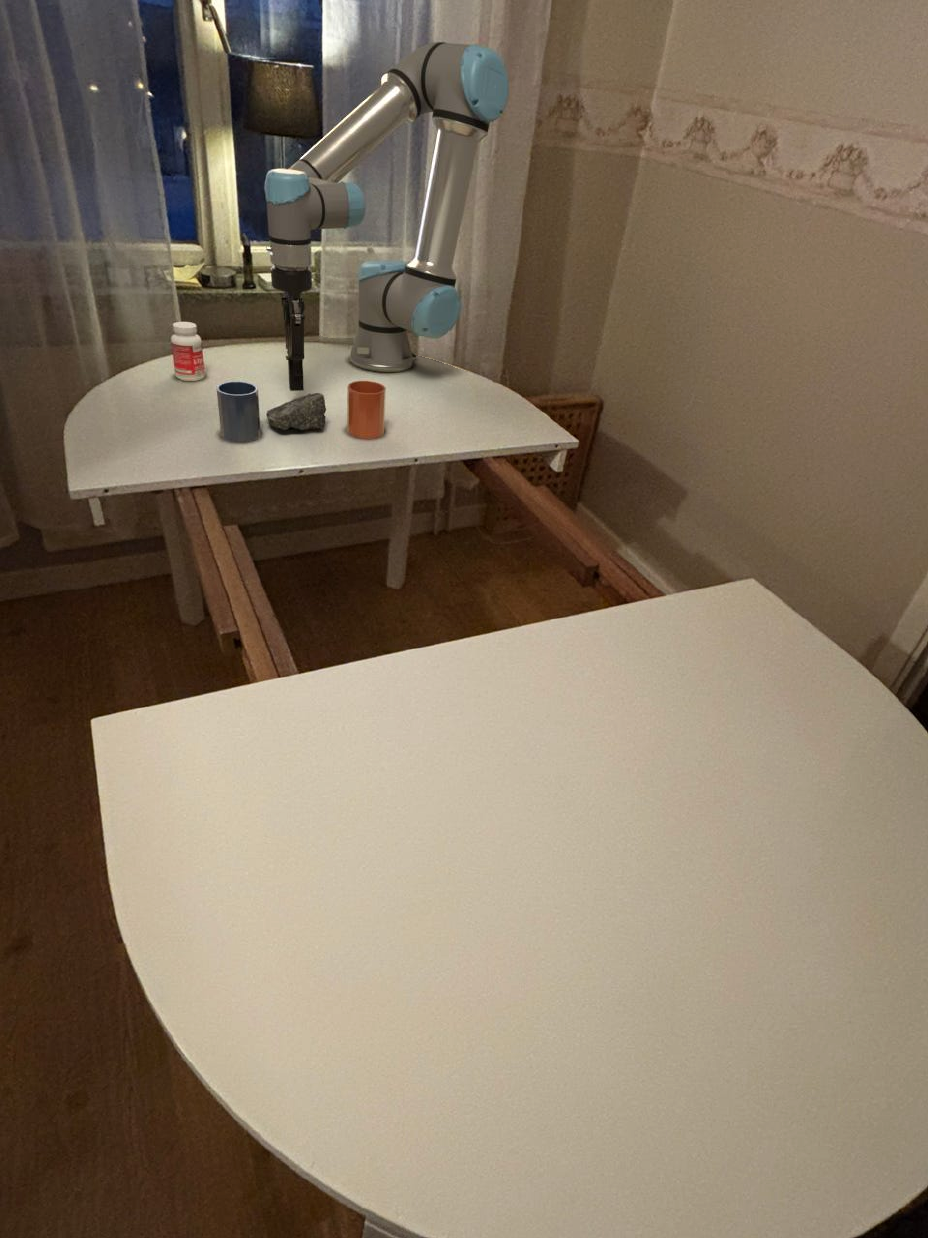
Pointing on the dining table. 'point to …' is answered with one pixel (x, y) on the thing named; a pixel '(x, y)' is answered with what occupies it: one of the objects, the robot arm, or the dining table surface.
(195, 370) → the pill bottle
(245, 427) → the cup
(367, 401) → the orange cup
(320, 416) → the rock
